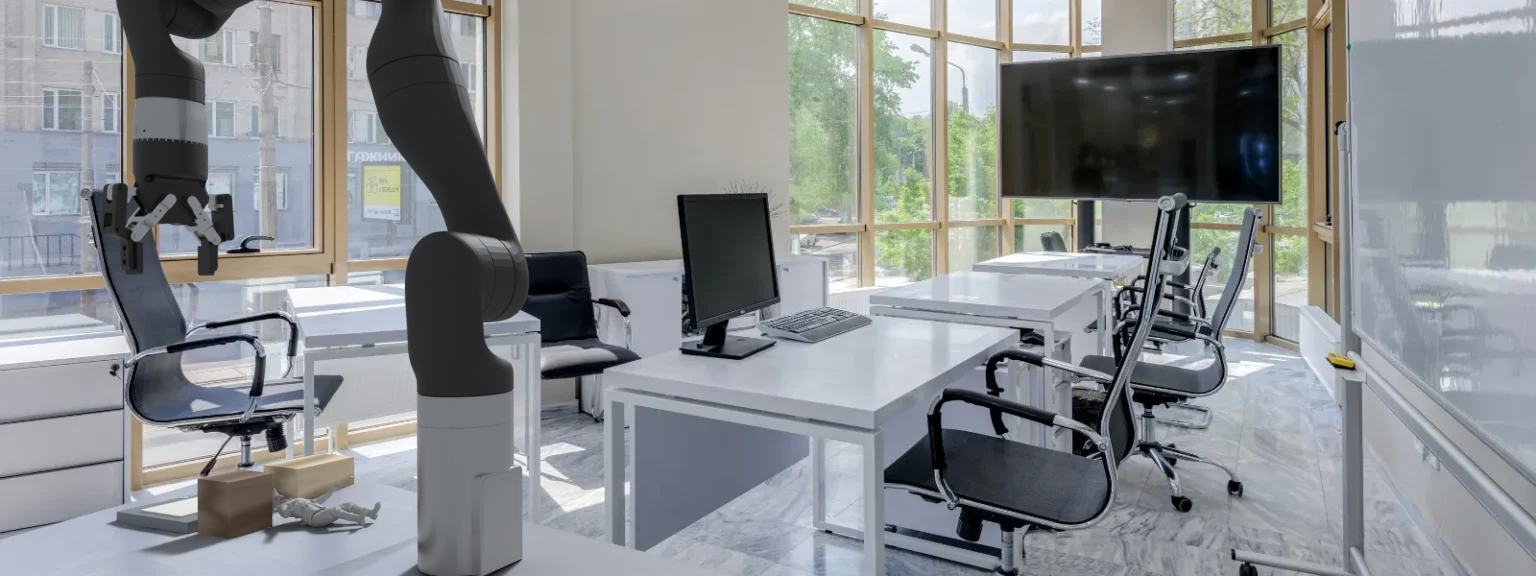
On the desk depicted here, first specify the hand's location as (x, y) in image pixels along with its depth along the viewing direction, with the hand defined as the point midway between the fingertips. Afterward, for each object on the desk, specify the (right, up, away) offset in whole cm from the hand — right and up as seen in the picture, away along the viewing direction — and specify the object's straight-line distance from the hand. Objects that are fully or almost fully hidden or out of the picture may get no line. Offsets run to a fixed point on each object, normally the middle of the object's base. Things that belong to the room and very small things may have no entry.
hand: (171, 275), depth 106 cm
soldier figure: (+27, -28, -9) cm, 40 cm away
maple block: (+15, -28, +4) cm, 32 cm away
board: (+6, -28, -4) cm, 29 cm away
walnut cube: (+14, -28, -10) cm, 33 cm away
